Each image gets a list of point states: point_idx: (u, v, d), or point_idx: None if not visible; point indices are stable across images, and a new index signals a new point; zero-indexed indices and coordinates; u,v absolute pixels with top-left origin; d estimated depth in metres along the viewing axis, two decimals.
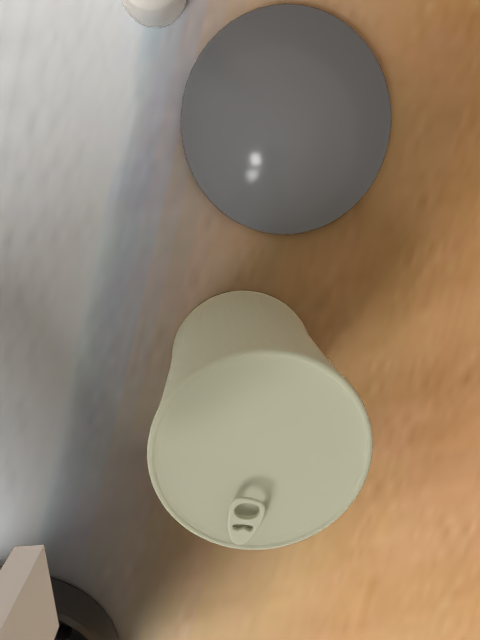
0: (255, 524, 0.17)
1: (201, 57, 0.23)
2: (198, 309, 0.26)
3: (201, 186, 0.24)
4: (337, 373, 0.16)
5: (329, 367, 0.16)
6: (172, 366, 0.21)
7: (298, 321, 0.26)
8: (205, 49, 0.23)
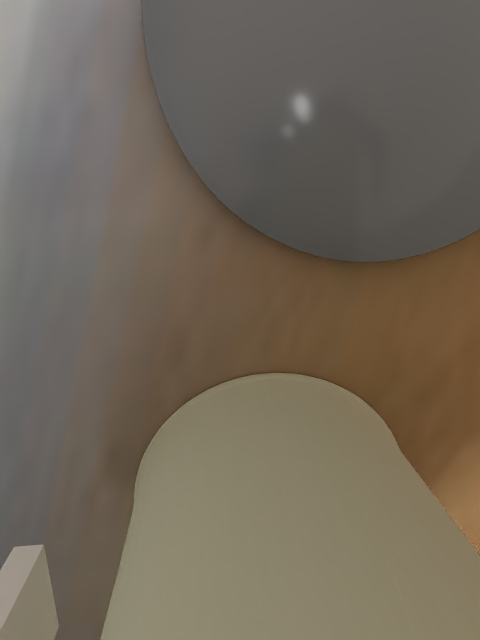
0: None
1: None
2: (185, 415, 0.13)
3: (190, 158, 0.11)
4: None
5: None
6: None
7: (396, 445, 0.12)
8: None
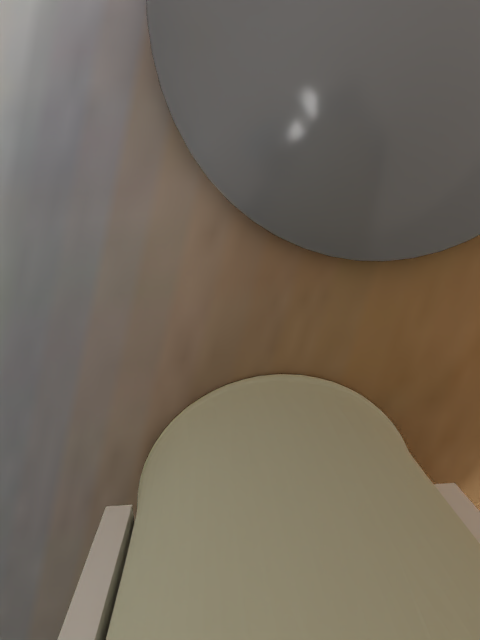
0: None
1: None
2: (190, 417, 0.12)
3: (196, 154, 0.11)
4: None
5: None
6: None
7: (406, 449, 0.12)
8: None
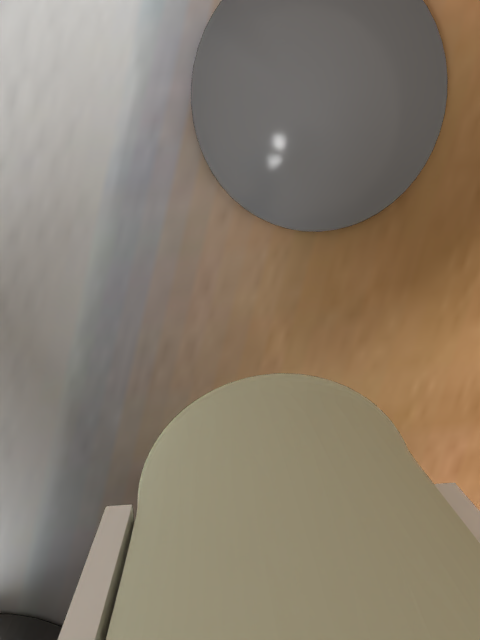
0: None
1: (216, 14, 0.19)
2: (190, 416, 0.12)
3: (215, 173, 0.20)
4: None
5: None
6: None
7: (405, 448, 0.12)
8: (221, 4, 0.18)
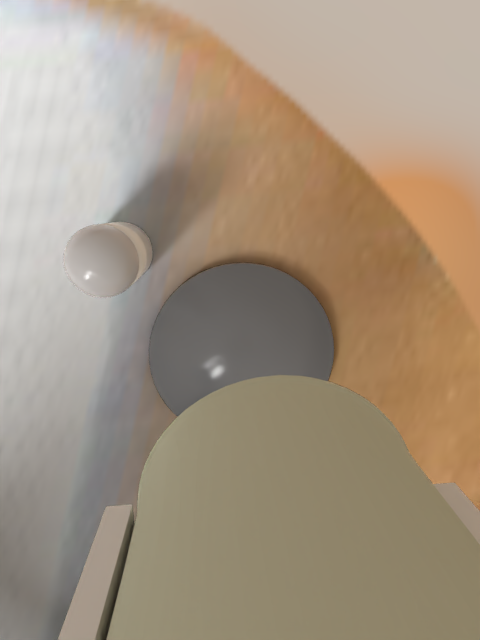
0: None
1: (165, 306, 0.26)
2: (190, 418, 0.12)
3: (168, 405, 0.28)
4: None
5: None
6: None
7: (406, 450, 0.12)
8: (168, 300, 0.26)
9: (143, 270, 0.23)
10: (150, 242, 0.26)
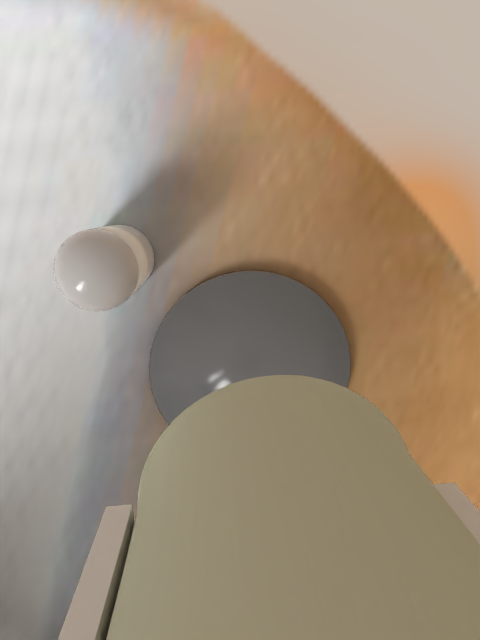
0: None
1: (167, 318, 0.24)
2: (190, 418, 0.12)
3: (170, 423, 0.26)
4: None
5: None
6: None
7: (406, 450, 0.12)
8: (171, 311, 0.24)
9: (143, 279, 0.21)
10: (151, 247, 0.23)
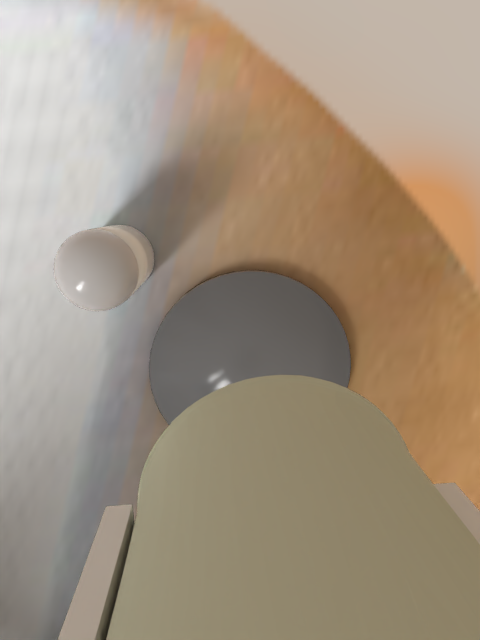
0: None
1: (167, 318, 0.24)
2: (190, 418, 0.12)
3: (170, 423, 0.26)
4: None
5: None
6: None
7: (406, 450, 0.12)
8: (171, 311, 0.24)
9: (143, 279, 0.21)
10: (151, 247, 0.23)
